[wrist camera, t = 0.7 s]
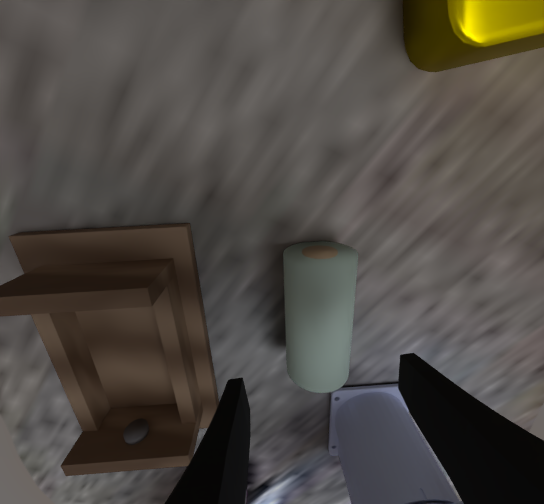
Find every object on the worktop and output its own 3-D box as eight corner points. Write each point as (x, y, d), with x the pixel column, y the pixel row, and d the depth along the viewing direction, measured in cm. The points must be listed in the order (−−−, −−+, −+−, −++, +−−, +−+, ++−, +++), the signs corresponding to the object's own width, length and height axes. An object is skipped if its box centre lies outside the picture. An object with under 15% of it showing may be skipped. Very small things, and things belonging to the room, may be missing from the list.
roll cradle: (221, 416, 25) (211, 482, 20) (100, 426, 25) (58, 495, 20) (189, 223, 18) (162, 247, 13) (21, 232, 18) (-74, 261, 13)
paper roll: (337, 343, 23) (359, 390, 18) (283, 348, 23) (291, 397, 18) (342, 238, 20) (372, 262, 15) (279, 242, 19) (288, 268, 15)
